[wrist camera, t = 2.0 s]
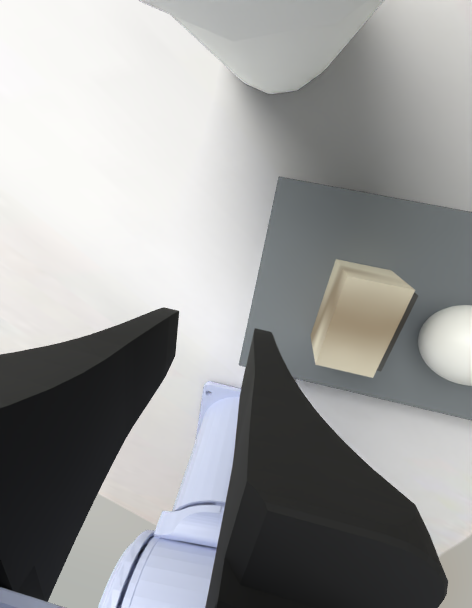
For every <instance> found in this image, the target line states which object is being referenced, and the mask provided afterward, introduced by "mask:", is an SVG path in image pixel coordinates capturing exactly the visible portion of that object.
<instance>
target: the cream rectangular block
mask: <svg viewBox="0 0 472 608" xmlns="http://www.w3.org/2000/svg"><path fill="white" fill-rule="evenodd" d="M417 298H418V295H417V294H416V293H415V289H413V288H412V287H411V286H410V285H408V284H407V283H406V282H405V281H404V280H402V279H401V278H400V277H399V276H398V275H396V274H395V273H394V272H393V271H392V270H387V269H382V268H377V267H372V266H367V265H362V264H358V263H353V262H348V261H343V260H338V259H336V260H335V263H334V266H333V269H332V272H331V275H330V278H329V281H328V284H327V287H326V290H325V293H324V296H323V299H322V302H321V305H320V309H319V312H318V315H317V318H316V321H315V324H314V327H313V330H312V333H311V342H312V348H313V353H314V359H315V365H319V366H324V367H328V368H332V369H337V370H341V371H345V372H350V373H354V374H358V375H363V376H367V377H371V378H373V377H374V375H375V372H376V370H377V371H382V369H383V367H384V365H385V363H386V361H387V359H388V357H389V354H390V352H391V350H392V348H393V346H394V344H395V342H396V340H397V338H398V336H399V334H400V332H401V330H402V328H403V326H404V324H405V322H406V320H407V318H408V316H409V314H410V312H411V310H412V308H413V306H414V304H415V302H416V300H417Z"/></svg>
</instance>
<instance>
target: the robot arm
mask: <svg viewBox="0 0 472 608" xmlns="http://www.w3.org/2000/svg"><path fill="white" fill-rule="evenodd" d="M178 318H179V311H177V310H172V309H168V308H160V309H157V310H155V311H152V312H150V313H147V314H145V315H142V316H140V317H137V318H135V319H132V320H130V321H127V322H125V323H122V324H120V325H117V326H114V327H111V328H108V329H105V330H102V331H100V332H97V333H94V334H91V335H88V336H84V337H81V338H77V339H74V340H70V341H66V342H62V343H58V344H54V345H49V346H44V347H39V348H34V349H29V350H24V351H19V352H14V353H7V354H1V355H0V608H65V607H61V606H58V605H55V604H52V603H49V602H48V600H49V597H50V595H51V593H52V590H53V588H54V586H55V584H56V582H57V579H58V577H59V575H60V573H61V571H62V568H63V566H64V564H65V562H66V559H67V557H68V555H69V553H70V551H71V548H72V546H73V544H74V542H75V540H76V537H77V535H78V533H79V531H80V529H81V527H82V525H83V523H84V521H85V518H86V516H87V514H88V512H89V510H90V508H91V506H92V504H93V501H94V500H95V498H96V496H97V494H98V492H99V490H100V488H101V486H102V484H103V482H104V480H105V478H106V476H107V474H108V472H109V470H110V468H111V466H112V464H113V462H114V460H115V458H116V456H117V454H118V452H119V450H120V448H121V447H122V445H123V443H124V441H125V439H126V437H127V436H128V434H129V432H130V431H131V429H132V427H133V426H134V424H135V423H136V421H137V419H138V418H139V416H140V415H141V413H142V412H143V410H144V409H145V407H146V406H147V404H148V403H149V401H150V400H151V398H152V397H153V395H154V394H155V392H156V390H157V389H158V387H159V386H160V384H161V383H162V381H163V380H164V378H165V376H166V374H167V372H168V370H169V368H170V366H171V364H172V361H173V359H174V357H175V352H176V340H177V329H178ZM208 391H210V392H211V393H209V392H208ZM447 586H448V580H447V578H446V575H445V573H444V570H443V568H442V566H441V563H440V561H439V558H438V555H437V553H436V550H435V547H434V545H433V542H432V540H431V537H430V535H429V533H428V530H427V528H426V526H425V524H424V522H423V520H422V518H421V516H420V514H419V512H418V509H417V507H416V505H415V504H414V503H412V502H411V501H410V500H409V499H408V498H406V497H405V496H404V495H403V494H402V493H400V492H399V491H398V490H397V489H396V488H395V487H393V486H392V485H391V484H390V483H389V482H387V481H386V480H385V479H384V478H383V477H381V476H380V475H379V474H378V473H377V472H376V471H374V470H373V469H372V468H371V467H370V466H369V465H368V464H367V463H366V462H364V461H363V460H362V459H361V458H360V457H359V456H358V455H357V454H356V453H355V452H354V451H353V450H352V449H351V448H350V447H349V446H348V445H347V444H346V443H345V442H344V441H343V440H342V439H341V438H340V437H339V436H338V435H337V434H336V433H335V432H334V431H333V430H332V428H331V427H330V426H329V425H328V424H327V423H326V422H325V421H324V420H323V418H322V417H321V416H320V415H319V414H318V412H317V411H316V410H315V409H314V408H313V406H312V405H311V404H310V402H309V401H308V400H307V398H306V397H305V396H304V394H303V393H302V391H301V390H300V388H299V387H298V385H297V383H296V382H295V380H294V378H293V377H292V375H291V373H290V371H289V370H288V368H287V366H286V364H285V362H284V360H283V358H282V356H281V354H280V351H279V349H278V347H277V344H276V342H275V339H274V336H273V334H272V332H270V331H265V330H261V329H256V328H255V329H254V333H253V338H252V342H251V347H250V351H249V355H248V360H247V364H246V369H245V373H244V378H243V383H242V387H241V389H240V388H236V387H231V386H227V385H223V384H219V383H215V382H210V381H208V382H206V383H205V385H204V388H203V395H202V402H201V408H200V415H199V421H198V428H197V435H196V441H195V445H194V448H193V451H192V454H191V457H190V460H189V462H188V465H187V468H186V471H185V474H184V477H183V480H182V483H181V486H180V489H179V492H178V495H177V498H176V501H175V504H174V507H173V510H172V511H162V513H161V516H160V519H159V521H158V524H157V527H156V530H155V531H153V530H146V531H144V532H142V533H141V534H140V535H139V536H138V537H137V538H136V539H135V540H134V542H132V543H131V544H130V545H129V546H128V547H127V549H126V550H125V551H124V553H123V554H122V556H121V557H120V559H119V561H118V563H117V564H116V566H115V568H114V570H113V572H112V574H111V576H110V578H109V581H108V583H107V585H106V588H105V590H104V593H103V595H102V598H101V601H100V603H99V606H98V608H438V607H439V605H440V604H441V603H442V601H443V600H444V598H445V596H446V594H447Z"/></svg>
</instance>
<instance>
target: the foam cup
mask: <svg viewBox="0 0 472 608" xmlns="http://www.w3.org/2000/svg"><path fill="white" fill-rule="evenodd" d="M139 1H140V2H142V3H145V4H147V5H149V6H152V7H154V8H156V9H159V10H161V11H163V12H166V13H168V14H170V15H171V16H172V17H173V18H174V19H175V20H177V21H178V22H179V23H180V24H181V25H182V26H183V27H184V28H185V29H186V30H187V31H188V32H189V33H191V34H192V35H193V36H194V37H195V38H196V39H197V40H198V41H199V42H200V43H201V44H202V45H203V46H205V47H206V48H207V49H208V50H209V51H210V52H211V53H212V54H213V55H214V56H215V57H216V58H217V59H219V60H220V61H221V62H222V63H223V64H224V65H225V66H226V67H227V68H228V69H229V70H230V71H232V72H233V73H234V74H235V75H236V76H237V77H238V78H239V79H240V80H241V81H242V82H244V83H245V84H247V85H249V86H251V87H254V88H256V89H258V90H261V91H263V92H265V93H268V94H277V93H284V92H291V91H297V90H299V89H300V88H301V87H303V86H304V85H306V84H307V83H308V82H310V81H311V80H313V79H314V78H315V77H317V76H318V75H320V74H321V73H322V72H323V71H324V70H325V69H326V68H327V67H328V66H329V65H330V64H331V62H332V61H333V60H334V59H335V58H336V57H337V55H338V54H339V53H340V52H341V51H342V49H343V48H344V47H345V46H346V45H347V44H348V42H349V41H350V40H351V39H352V38H353V37H354V35H355V34H356V33H357V32H358V31H359V30H360V28H361V27H362V26H363V25H364V24H365V22H366V21H367V20H368V19H369V18H370V17H371V15H372V14H373V13H374V12H375V11H376V10H377V8H378V7H379V6H380V5H381V4H382V3H383V1H384V0H139Z"/></svg>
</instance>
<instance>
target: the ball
mask: <svg viewBox="0 0 472 608" xmlns="http://www.w3.org/2000/svg"><path fill="white" fill-rule="evenodd" d="M418 347H419V351H420V354H421V356H422V358H423V360H424V361H425V363H426V364H427V365H428V366H429V368H430V369H431V370H432V371H434V372H435V373H436V374H438V375H439V376H441V377H443V378H444V379H446V380H449V381H451V382H454V383H457V384H462V385H468V386H472V305H458V306H451V307H448V308H445V309H442V310H440V311H438V312H436V313H435V314H433V315H432V316H430V317H429V318H428V319H427V320H426V322H425V323H424V324H423V326H422V327H421V330H420V332H419V336H418Z"/></svg>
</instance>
